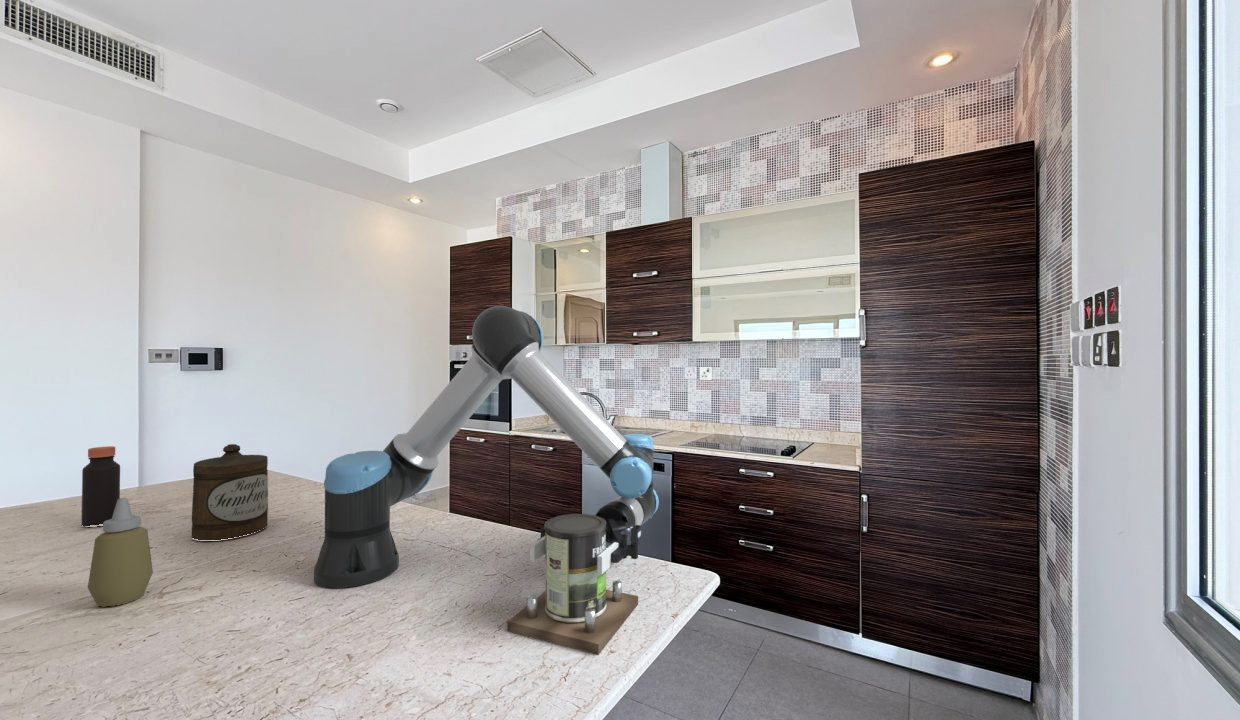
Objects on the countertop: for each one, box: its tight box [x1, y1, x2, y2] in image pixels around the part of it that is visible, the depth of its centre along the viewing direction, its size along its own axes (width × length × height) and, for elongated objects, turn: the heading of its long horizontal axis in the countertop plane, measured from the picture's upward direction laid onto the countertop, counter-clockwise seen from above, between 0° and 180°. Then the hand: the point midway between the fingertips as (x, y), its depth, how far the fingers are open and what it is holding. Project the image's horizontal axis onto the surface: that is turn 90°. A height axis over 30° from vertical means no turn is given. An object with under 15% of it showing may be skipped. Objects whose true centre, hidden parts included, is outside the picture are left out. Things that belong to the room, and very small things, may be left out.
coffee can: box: [543, 513, 607, 623], centre depth 81 cm, size 10×10×14 cm
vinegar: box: [81, 446, 121, 526], centre depth 127 cm, size 7×7×20 cm
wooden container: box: [191, 443, 269, 540], centre depth 121 cm, size 15×15×22 cm
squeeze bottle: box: [87, 497, 154, 608], centre depth 86 cm, size 8×8×18 cm
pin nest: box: [506, 579, 639, 655], centre depth 81 cm, size 16×16×4 cm
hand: (564, 559), depth 77 cm, fingers open, 12 cm apart
